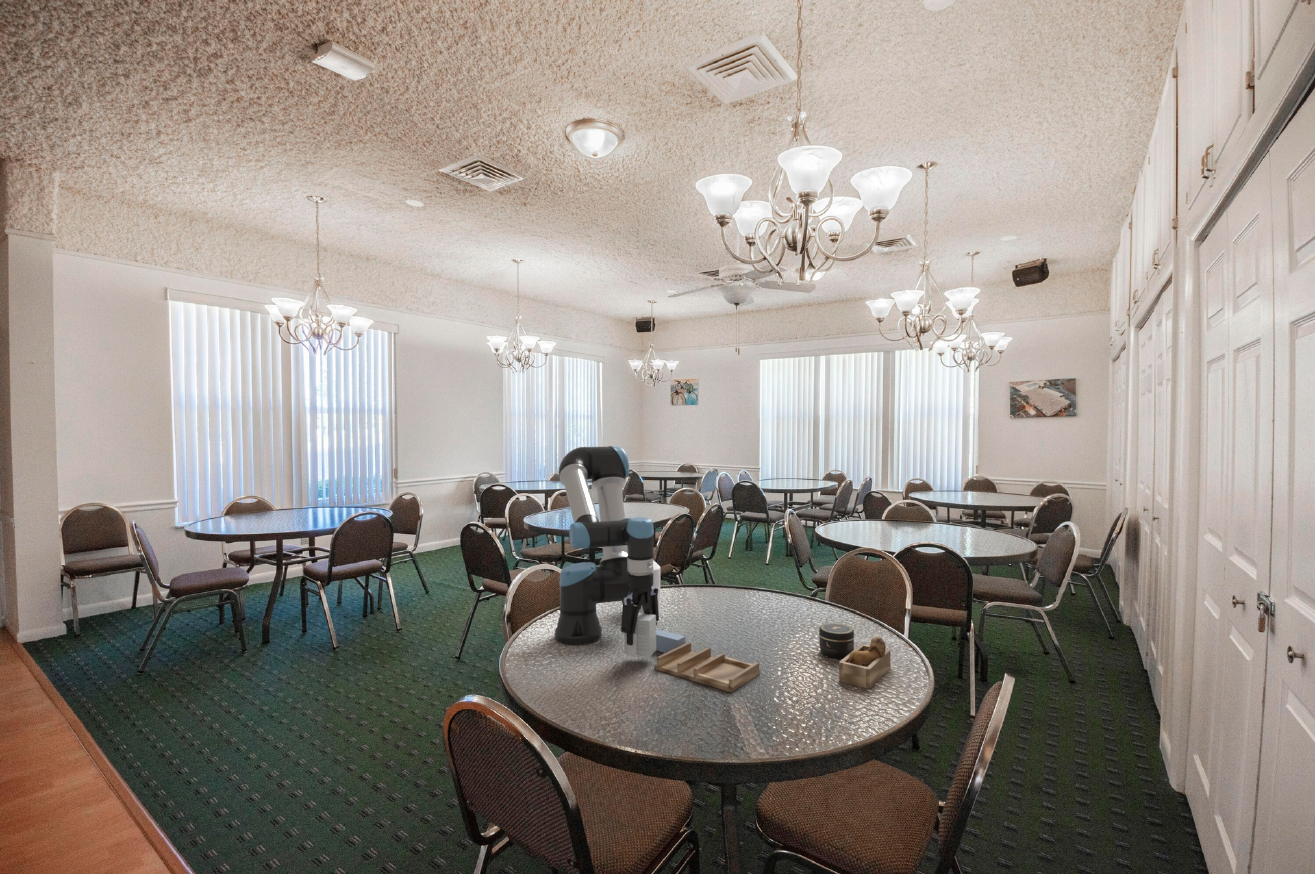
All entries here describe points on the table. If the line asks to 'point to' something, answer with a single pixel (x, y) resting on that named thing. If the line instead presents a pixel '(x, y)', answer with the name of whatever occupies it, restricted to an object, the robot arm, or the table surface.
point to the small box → (644, 635)
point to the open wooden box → (864, 669)
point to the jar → (836, 640)
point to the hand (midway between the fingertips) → (640, 651)
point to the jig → (707, 668)
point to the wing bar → (668, 641)
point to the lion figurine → (868, 653)
